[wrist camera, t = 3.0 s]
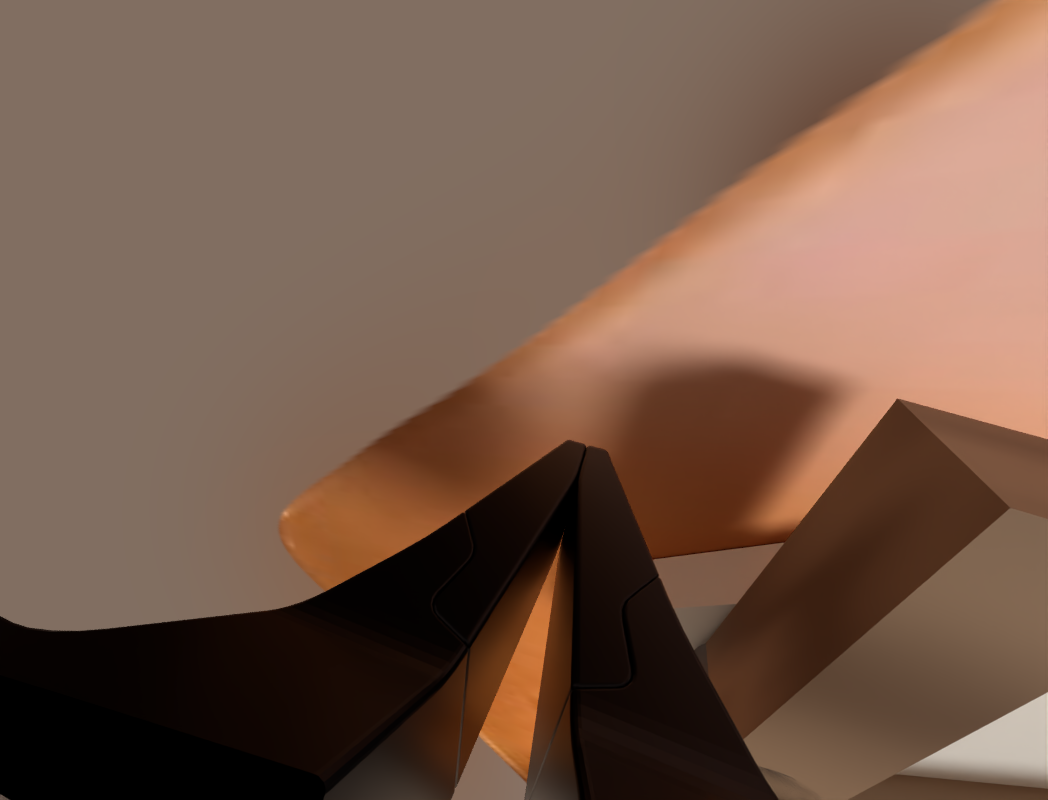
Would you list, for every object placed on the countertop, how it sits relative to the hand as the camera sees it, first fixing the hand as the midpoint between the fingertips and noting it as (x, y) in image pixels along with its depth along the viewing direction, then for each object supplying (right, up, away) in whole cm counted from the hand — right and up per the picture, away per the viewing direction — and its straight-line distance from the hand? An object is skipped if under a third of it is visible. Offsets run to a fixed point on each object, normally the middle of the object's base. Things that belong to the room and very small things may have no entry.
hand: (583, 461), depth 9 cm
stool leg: (+6, -4, +2) cm, 7 cm away
